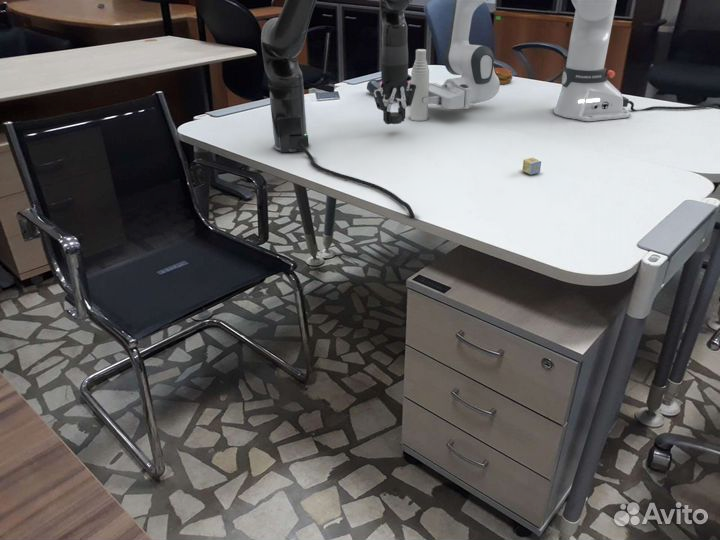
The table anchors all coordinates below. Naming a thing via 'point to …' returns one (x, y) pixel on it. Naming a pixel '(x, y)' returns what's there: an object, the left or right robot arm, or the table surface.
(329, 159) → the table surface
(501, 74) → the burger
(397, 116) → the cap
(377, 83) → the running shoe
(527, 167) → the alphabet block
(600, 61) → the right robot arm
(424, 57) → the bottle
